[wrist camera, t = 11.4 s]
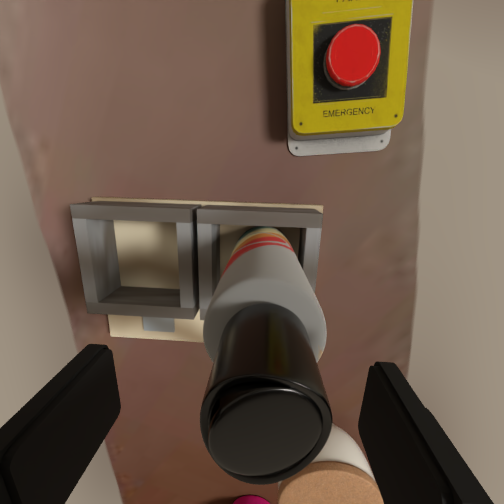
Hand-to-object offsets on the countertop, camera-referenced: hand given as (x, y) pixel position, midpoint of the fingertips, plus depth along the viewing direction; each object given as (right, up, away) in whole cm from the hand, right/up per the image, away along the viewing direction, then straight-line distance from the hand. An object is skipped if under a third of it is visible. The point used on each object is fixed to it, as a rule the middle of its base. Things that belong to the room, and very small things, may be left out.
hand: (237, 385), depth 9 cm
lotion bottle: (+2, +5, +17) cm, 18 cm away
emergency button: (+8, +21, +13) cm, 27 cm away
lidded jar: (+9, -19, +24) cm, 32 cm away
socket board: (-4, +2, +19) cm, 20 cm away
